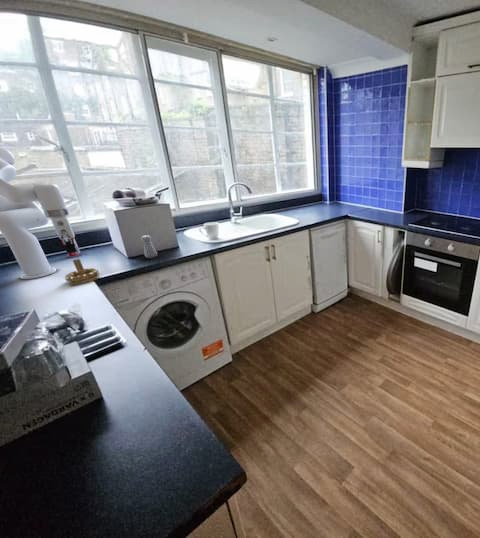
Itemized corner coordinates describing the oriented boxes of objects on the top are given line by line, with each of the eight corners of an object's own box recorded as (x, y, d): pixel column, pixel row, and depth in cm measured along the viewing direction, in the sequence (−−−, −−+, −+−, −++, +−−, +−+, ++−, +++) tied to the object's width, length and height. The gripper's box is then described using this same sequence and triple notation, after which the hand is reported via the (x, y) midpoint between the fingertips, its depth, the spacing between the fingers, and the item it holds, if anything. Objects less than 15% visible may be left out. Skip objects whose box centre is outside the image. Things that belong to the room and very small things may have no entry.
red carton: (72, 254, 173) (64, 235, 169) (83, 253, 174) (75, 234, 170) (66, 257, 168) (57, 237, 164) (77, 256, 170) (69, 236, 165)
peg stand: (71, 280, 138) (62, 259, 134) (96, 274, 143) (88, 254, 140) (72, 285, 132) (62, 264, 128) (97, 279, 137) (89, 259, 133)
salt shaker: (143, 260, 161) (135, 237, 156) (152, 256, 166) (145, 234, 161) (152, 260, 159) (144, 237, 154) (160, 257, 165) (154, 234, 160)
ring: (66, 277, 138) (64, 272, 137) (98, 270, 145) (96, 265, 144) (66, 284, 130) (64, 279, 129) (100, 276, 137) (98, 272, 136)
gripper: (68, 214, 126) (83, 252, 132) (67, 209, 137) (81, 243, 144) (44, 217, 121) (60, 256, 128) (45, 211, 132) (60, 247, 139)
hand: (71, 249), depth 136 cm, fingers open, 9 cm apart
